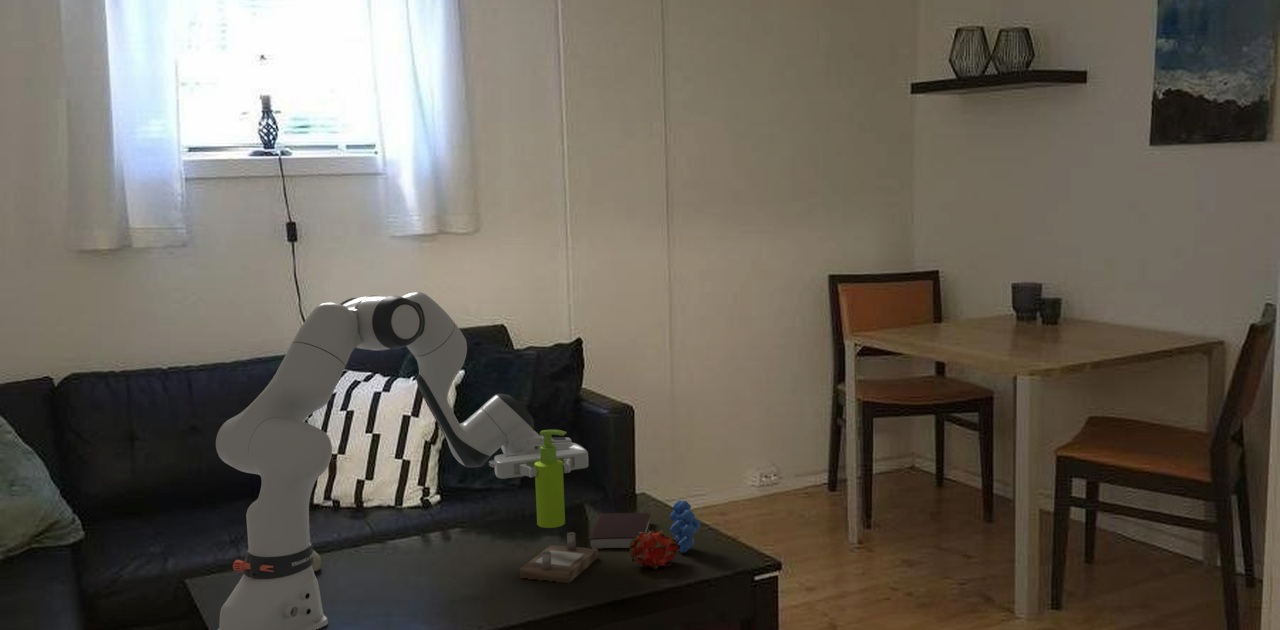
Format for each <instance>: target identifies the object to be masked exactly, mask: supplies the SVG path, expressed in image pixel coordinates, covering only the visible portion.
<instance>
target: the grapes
mask: <svg viewBox="0 0 1280 630" xmlns="http://www.w3.org/2000/svg"><path fill="white" fill-rule="evenodd" d="M691 508H692V505H690V503H689V502H688V501H687V500H677V501H676V502H675V503H674V504H673V506H672V508H671V509H672V511H671V513H670V514H669V519H671V521H672V522H673V524H671V526H670V528H669V532H670V533H671V534H672V535H674V537H673V539H676V540H677V541H678V542H679V543H678V545H681V546H680V550H679V551H678V552H680V553H682V554H685V553H687V551H689V549H691V548H692V547H693V546H694V543H695V539H694V538H693V536H694V535H695V533H696V532H697V531H698V530H699V529H700V528H701V526H702V523H701V522H700V521H699V520H698V518H696V515H695V514H694V512H693V511H692V510H691Z"/></svg>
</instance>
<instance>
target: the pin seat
mask: <svg viewBox="0 0 1280 630" xmlns="http://www.w3.org/2000/svg"><path fill="white" fill-rule="evenodd" d="M576 543H577V542H576V532H573V531H571V532H570V531H569V532H567V533H566V545H556V544H550V545H549V546H548V547H546V548H545V549H544V550H542V551H541V552H540V553H538V555H536V556H535V557H534V558H533V557H532V559H531V560H530V561H528V562H526V563H525V564H524V565H523V566H521V567H520V568H519V578H520V577H521V578H520V579H523V578H528V579H527V580H532V579H538V580H537V581H542V580H549V581H548V582H552V581H556V582H555V583H561V582H562V583H563V584H570V583H571V582H573V581H574V578H575V579H576V578H577V577H578V576H579V575H581V574H582V573H583V572H584V571H585V570H586V569H588V568H589V566H591V565H592V564H593V563H594V562H595V561H597V560H598V559H599V556H598V555H599V552H598V551H599V548H592V549H591V548H589V547H579V546H578V547H577V546H576ZM590 564H591V565H590Z"/></svg>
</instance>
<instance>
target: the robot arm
mask: <svg viewBox="0 0 1280 630" xmlns="http://www.w3.org/2000/svg"><path fill="white" fill-rule="evenodd" d="M404 347H406V348H407V349H408V351H409V352H410V353H411V354H412V355H413V357H414V358H415V360H416V362H417V366H418V375H417V376H416V385H417V387H418V389H419V393H420V394H421V396H422V398H423V400H424V401H425V403H426V405H427V407H428V408H429V410H430V413H431V414H432V416H433V418H434V420H435V421H436V423H437V425H438V427H439V428H440V430H441V432H442V434H443V435H444V438H445V440H446V442H447V443H448V447H449V450H450V452H451V454H452V456H453V457H454V458H455V460H456V461H457V462H458V463H459V464H460V465H462V466H464V467H465V468H478V467H482V466H483V465H485V463H487V462H488V466H489V467H492V468H494V474H495V476H496V478H498V479H502V480H503V479H510V478H518V477H529V478H535V477H537V473H536V472H537V469H536V468H535V463H536V462H537V461H540V446H542V445H543V444H544V438H543V435H540V433H538V432H536V431H535V430H534V424H535V423H534V418H533V416H532V415H531V413H529V411H528V410H527V408H525V407H524V406H523V404H521V403H520V402H519V401H518V400H517V399H516V398H514V397H513V396H512V395H510V394H505V393H496V394H494V395H493V396H492V397H491V398H490V399H488V400H487V401H486V402H484V404H482V406H480V407H479V409H477V410H476V411H475V412H474V413H473V414H472V415H470V416H469V417H468V418H467V419H466V420H464V421H463V422H460V423H459V421H458V419H457V417H456V414H455V413H454V411H453V409H452V408H451V406H450V404H449V401H448V395H449V392H450V389H451V386H452V384H453V383H454V381H455V379H456V378H457V377H458V376H457V375H458V374H459V373H460V372H461V369H462V368H463V366H464V363H465V360H466V357H467V354H468V353H467V351H468V345H467V339H466V337H465V336H464V334H463V333H462V331H461V329H460V328H459V326H458V325H457V324H456V322H455V321H454V320H453V319H452V317H451V316H450V315H449V314H448V313H447V312H446V311H445V310H444V309H443V308H442V307H441V306H440V304H439V303H437V302H436V301H435V300H433V299H432V298H431V297H430V296H429V295H428V294H425V293H424V292H421V291H412V292H409V293H406V294H404V295H402V296H400V295H366V296H360V297H351V298H348V299H346V300H344V301H342V302H340V303H337V302H323V303H321V304H318V305H317V306H316V307H314V309H313V310H312V311H311V312H310V313H309V315H308V316H307V317H306V319H305V321H304V322H303V323H302V325H301V326H300V328H299V329H298V331H297V333H296V334H295V336H294V338H293V340H292V341H291V344H290V345H289V348H288V349H287V351H286V353H285V355H284V357H283V359H282V361H281V363H280V365H279V366H278V369H277V370H276V373H275V374H274V375H273V377H272V379H271V380H270V381H269V383H268V384H267V385H266V386H265V388H264V389H263V391H261V392H260V394H258V396H257V397H256V398H255V399H254V400H253V401H252V402H251V403H250V404H249V405H248V406H247V407H246V408H245V409H243V411H241V412H240V413H238V414H236V415H234V416H233V417H231V418H229V419H227V420H226V421H225V422H224V423H223V424H222V425H221V426H220V428H219V430H218V432H217V434H216V438H215V449H216V453H217V454H218V458H220V460H221V461H223V462H224V463H225V464H227V465H228V466H230V467H231V468H234V469H236V470H237V471H240V472H243V473H247V474H253V475H258V476H260V478H261V484H260V485H261V487H260V490H259V494H258V498H257V499H255V501H253V502H252V503H251V504H250V505H249V507H248V508H247V511H246V518H245V519H246V527H247V528H246V530H247V531H246V532H247V546H248V549H247V551H246V554H245V557H244V560H241V559H235V561H233V564H232V569H233V571H235V572H243V575H242V577H241V578H240V580H239V581H238V583H237V584H236V586H235V587H234V589H233V590H232V592H231V593H230V595H229V596H228V598H227V599H226V601H225V602H224V604H223V605H222V606H221V609H220V613H219V628H218V629H217V630H316V629H317V630H319V629H321V628H323V627H326V626H327V625H328V624H329V620H328V617H327V616H326V615H325V614H324V610H323V604H322V597H321V592H320V586H319V581H318V578H317V577H316V574H315V572H314V571H313V568H312V564H313V562H314V558H313V555H314V551H315V550H314V549H313V543H312V542H311V538H310V536H311V535H310V511H309V510H310V500H311V496H312V492H313V490H314V489H313V488H314V486H315V484H316V481H317V480H318V478H319V477H320V476H322V475H323V474H324V472H326V470H327V469H328V467H329V465H330V462H331V460H332V456H333V455H332V454H333V445H332V442H331V439H330V437H329V435H328V434H327V433H326V432H325V431H324V430H322V429H320V428H319V427H317V426H314V425H312V424H310V423H308V422H305V420H306V419H307V418H308V417H309V416H310V415H312V414H314V413H315V412H317V411H318V410H320V409H322V408H323V407H325V406H326V405H327V403H328V402H329V401H330V400H331V398H332V396H333V394H334V391H335V390H336V388H337V386H338V383H339V380H340V379H341V376H342V375H343V372H345V371H344V370H345V368H346V366H347V364H348V362H349V359H350V357H351V354H352V353H353V352H354V350H361V349H362V350H368V351H369V350H370V351H386V350H387V351H388V350H399V349H402V348H404ZM552 444H553V445H555V446H556V457H557V460H560V461H562V462H563V474H569V473H571V471H575V470H581V469H587V468H588V467H589V452H588V450H587V449H586V448H584V447H583V446H582V445H580V444H578V443H575V442H572V439H571V438H570V437H564V436H562V437H561V436H552ZM499 449H501V451H502V453H501V454H496V455H495V456H494V458H493V459H491V457H492V455H493V454H495V453H496V452H497V451H498V450H499ZM489 459H491V460H489ZM313 550H314V551H313Z"/></svg>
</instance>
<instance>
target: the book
mask: <svg viewBox="0 0 1280 630" xmlns="http://www.w3.org/2000/svg"><path fill="white" fill-rule="evenodd" d="M650 516H651V513H646V512H643V513H642V512H608V513H607V512H604V513H599V515H598V517H597V519H596V522H595V524H594V526H593V528H592V531H591V533H590V535H589V538H588V548H592V549H602V548H616V547H618V548H619V547H630V543H631V541H632V540H634V537H635V536H640V534H638V533H639V532H643V533H647V529H648V525H649V522H650ZM648 530H649V529H648Z"/></svg>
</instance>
